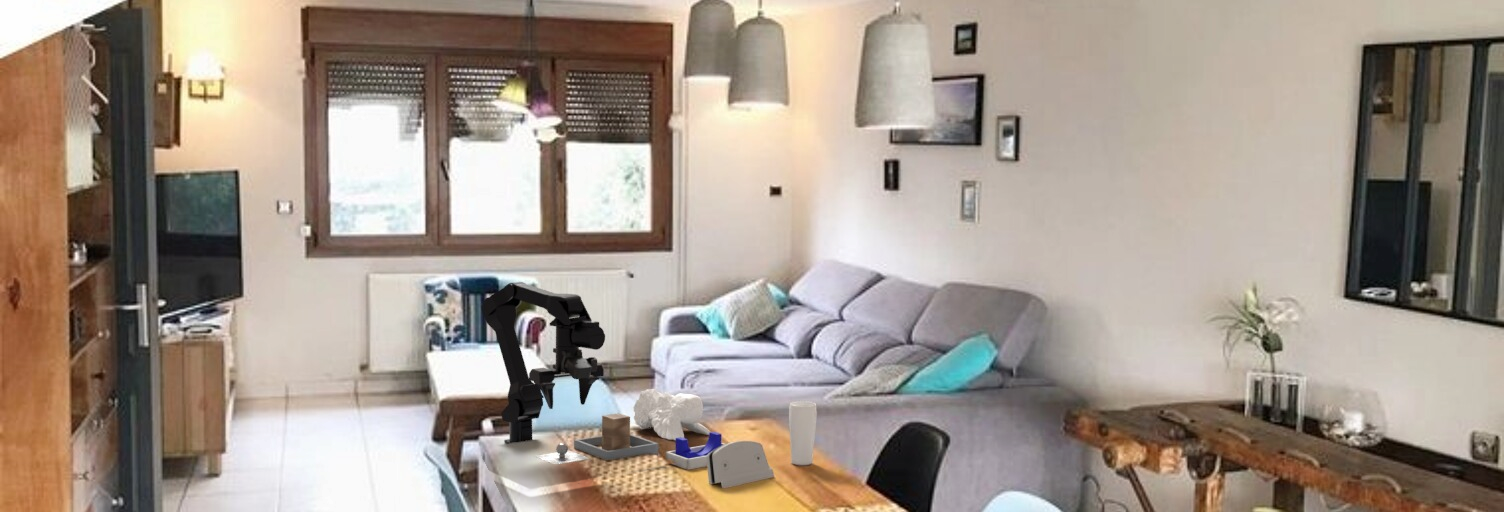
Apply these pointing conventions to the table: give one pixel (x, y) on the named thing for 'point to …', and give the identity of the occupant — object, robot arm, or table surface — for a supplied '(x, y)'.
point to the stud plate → (561, 456)
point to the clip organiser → (686, 462)
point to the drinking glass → (802, 431)
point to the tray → (636, 448)
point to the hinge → (738, 464)
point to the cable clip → (711, 444)
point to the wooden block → (615, 431)
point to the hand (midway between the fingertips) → (566, 406)
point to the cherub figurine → (669, 413)
